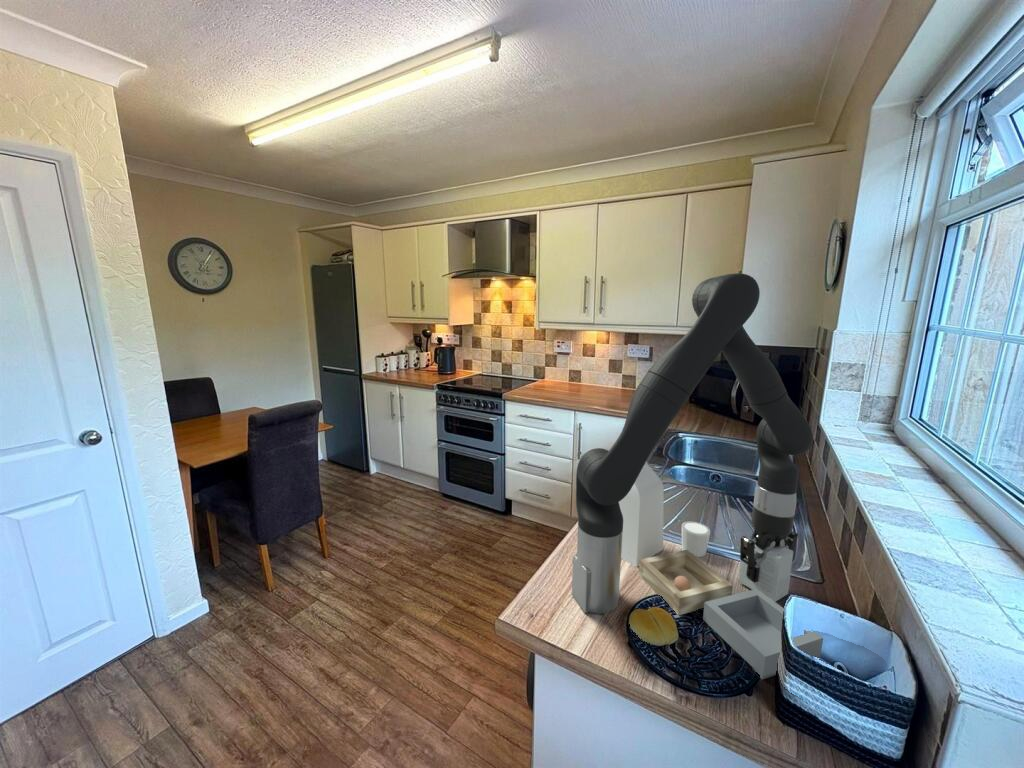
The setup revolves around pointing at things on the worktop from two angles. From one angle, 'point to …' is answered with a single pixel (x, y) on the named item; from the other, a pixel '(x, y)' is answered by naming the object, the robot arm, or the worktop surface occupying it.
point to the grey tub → (755, 629)
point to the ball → (682, 583)
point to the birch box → (684, 563)
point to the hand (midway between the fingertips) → (763, 577)
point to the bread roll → (654, 626)
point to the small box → (771, 573)
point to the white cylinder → (695, 538)
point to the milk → (643, 517)
